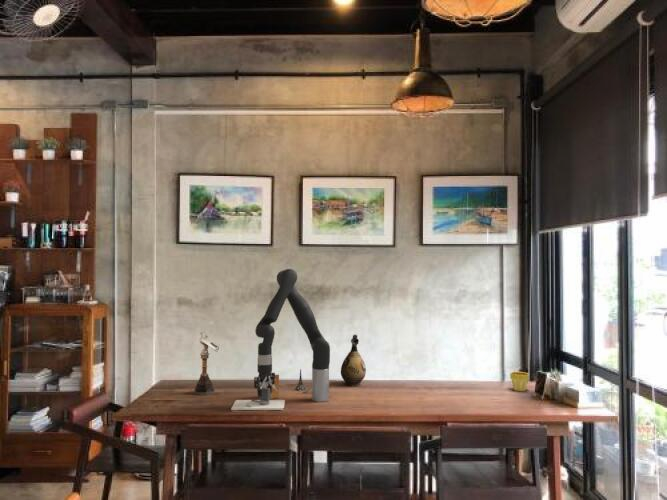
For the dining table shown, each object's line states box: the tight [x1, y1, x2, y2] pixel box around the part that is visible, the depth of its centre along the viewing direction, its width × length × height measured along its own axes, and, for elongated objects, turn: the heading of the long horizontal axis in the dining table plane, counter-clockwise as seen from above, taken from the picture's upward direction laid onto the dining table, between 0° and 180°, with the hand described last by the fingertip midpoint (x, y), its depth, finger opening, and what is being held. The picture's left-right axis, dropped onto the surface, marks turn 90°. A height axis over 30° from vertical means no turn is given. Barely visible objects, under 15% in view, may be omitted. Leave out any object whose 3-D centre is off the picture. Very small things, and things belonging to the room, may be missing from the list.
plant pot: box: [509, 371, 530, 392], centre depth 328 cm, size 10×10×10 cm
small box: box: [262, 372, 280, 400], centre depth 309 cm, size 8×6×13 cm
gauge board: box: [230, 399, 286, 411], centre depth 290 cm, size 26×16×2 cm, turn 91°
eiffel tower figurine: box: [294, 368, 312, 394], centre depth 327 cm, size 15×10×13 cm
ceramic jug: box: [340, 334, 367, 387], centre depth 342 cm, size 17×15×30 cm
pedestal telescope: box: [193, 332, 220, 396], centre depth 320 cm, size 17×13×35 cm
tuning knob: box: [251, 387, 271, 405], centre depth 291 cm, size 12×5×8 cm, turn 56°
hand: (264, 394), depth 290 cm, fingers open, 7 cm apart
